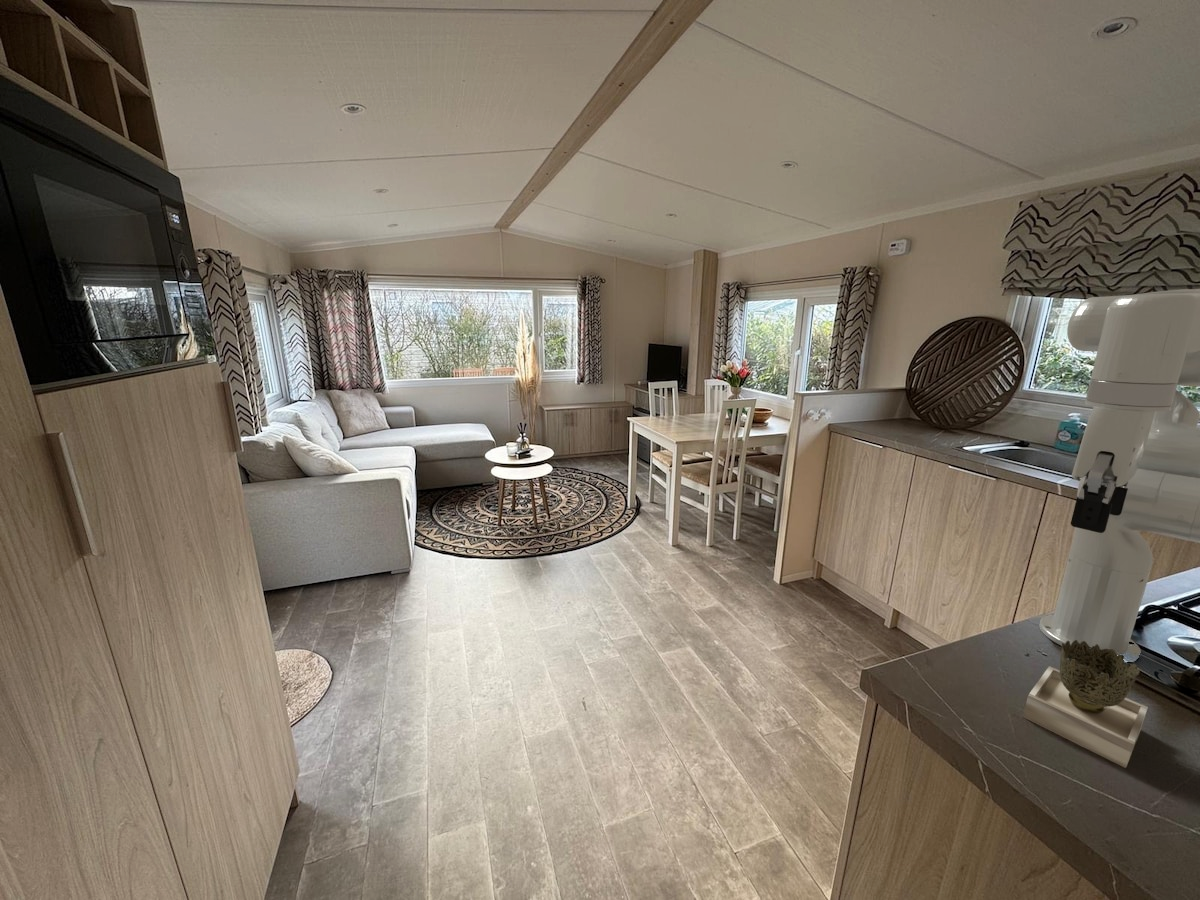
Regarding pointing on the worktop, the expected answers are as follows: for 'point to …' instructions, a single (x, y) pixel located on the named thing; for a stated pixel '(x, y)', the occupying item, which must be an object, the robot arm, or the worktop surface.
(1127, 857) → the worktop surface
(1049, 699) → the birch tray
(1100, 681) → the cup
